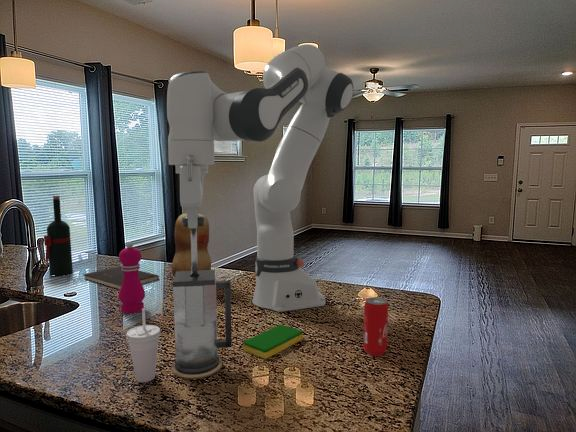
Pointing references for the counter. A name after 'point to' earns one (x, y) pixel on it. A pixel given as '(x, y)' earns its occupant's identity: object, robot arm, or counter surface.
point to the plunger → (194, 243)
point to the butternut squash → (184, 247)
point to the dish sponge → (272, 341)
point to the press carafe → (198, 324)
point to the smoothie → (144, 350)
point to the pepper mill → (131, 281)
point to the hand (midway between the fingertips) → (193, 225)
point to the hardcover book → (117, 277)
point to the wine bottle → (58, 244)
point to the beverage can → (375, 326)
